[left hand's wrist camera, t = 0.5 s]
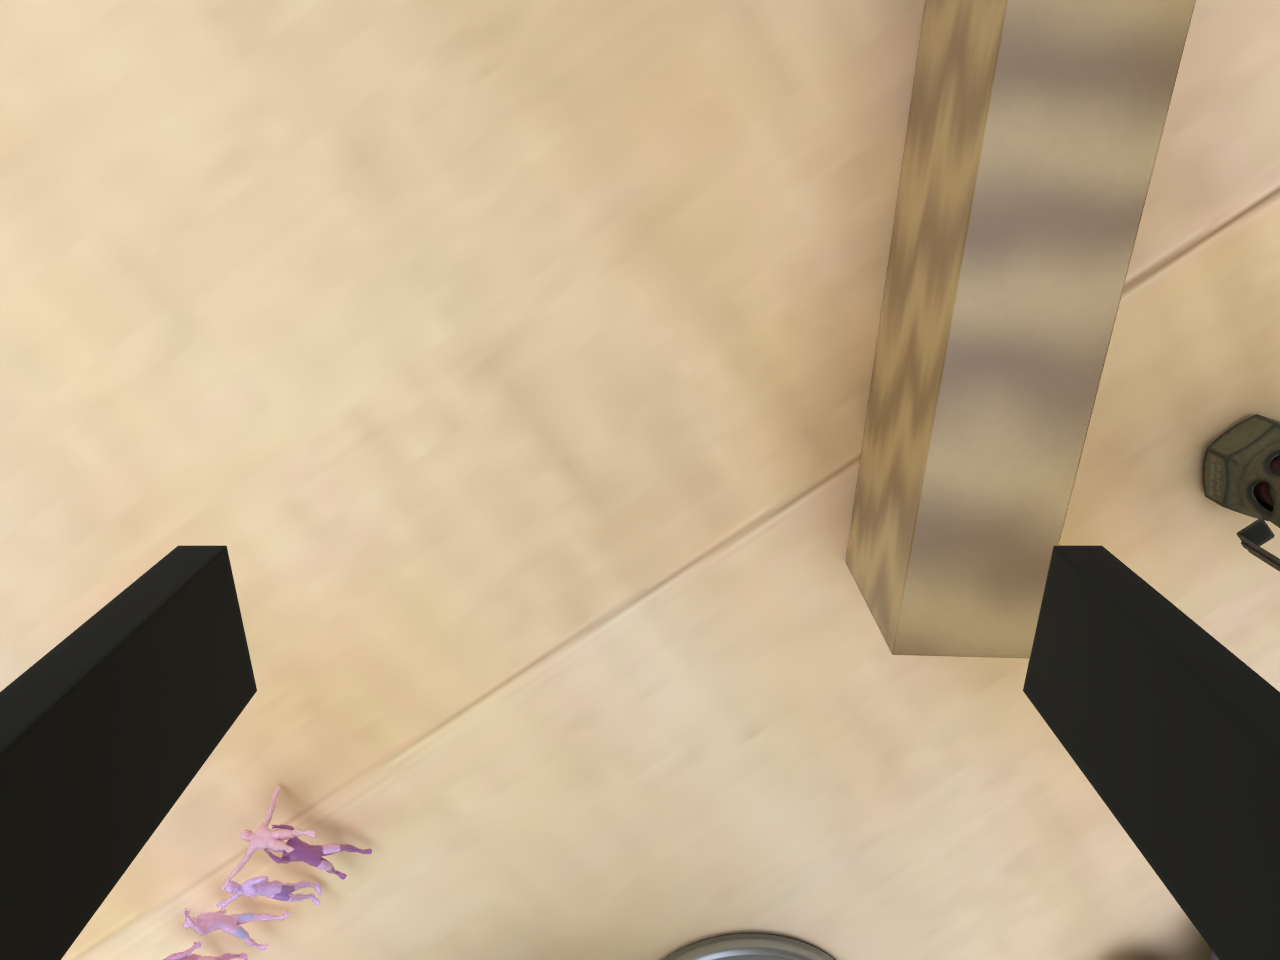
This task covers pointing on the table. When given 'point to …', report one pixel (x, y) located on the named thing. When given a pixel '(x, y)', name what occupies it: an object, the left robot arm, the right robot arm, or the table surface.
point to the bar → (1002, 304)
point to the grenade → (1248, 479)
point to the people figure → (264, 882)
